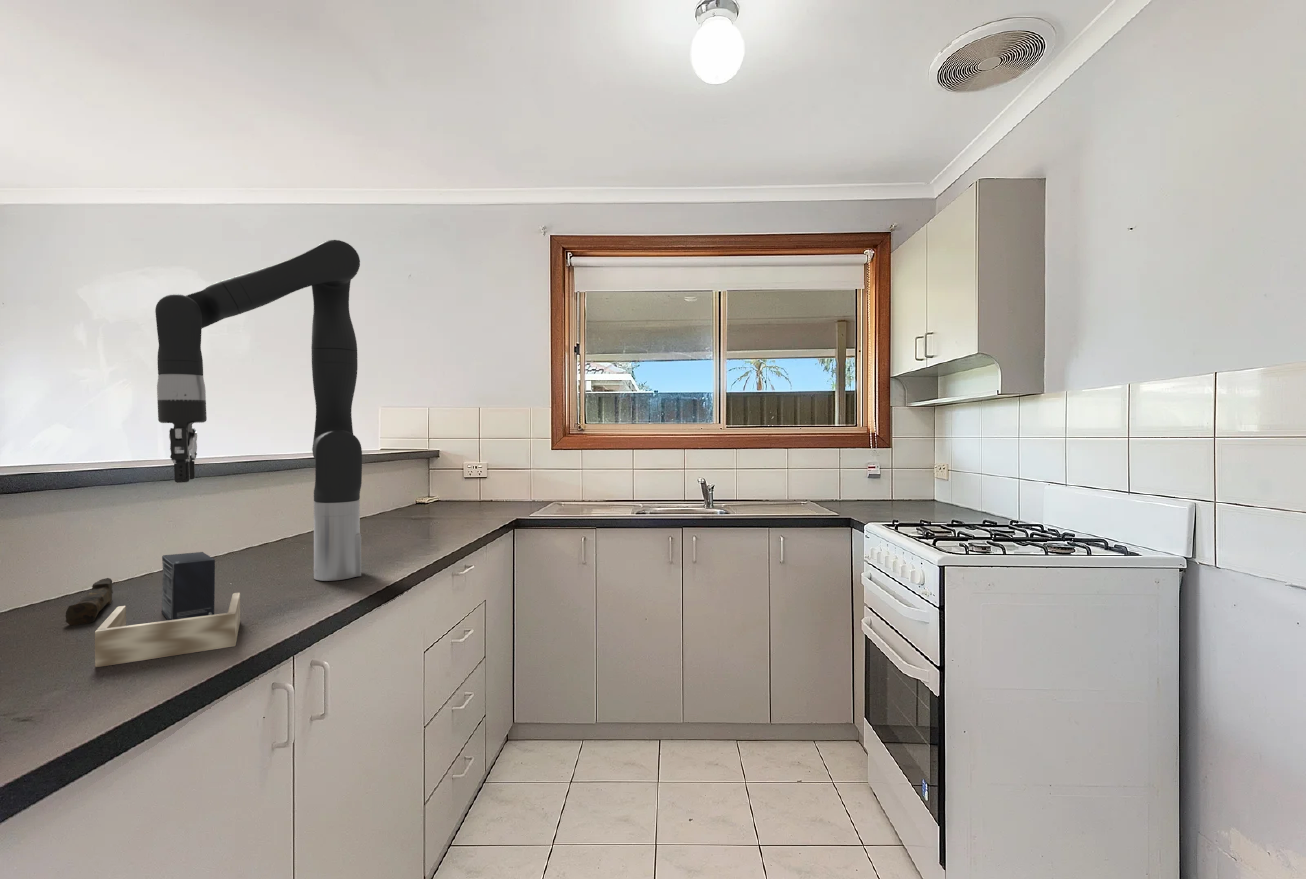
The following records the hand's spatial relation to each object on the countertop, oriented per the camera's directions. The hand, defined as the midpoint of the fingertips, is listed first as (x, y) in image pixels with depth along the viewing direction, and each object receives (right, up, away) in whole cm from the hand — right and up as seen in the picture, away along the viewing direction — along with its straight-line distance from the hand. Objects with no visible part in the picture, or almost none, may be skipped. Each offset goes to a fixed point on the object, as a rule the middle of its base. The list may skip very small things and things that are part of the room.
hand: (185, 480), depth 118 cm
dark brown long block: (-10, -24, -9) cm, 27 cm away
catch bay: (+18, -23, -25) cm, 38 cm away
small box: (+9, -24, -11) cm, 28 cm away
